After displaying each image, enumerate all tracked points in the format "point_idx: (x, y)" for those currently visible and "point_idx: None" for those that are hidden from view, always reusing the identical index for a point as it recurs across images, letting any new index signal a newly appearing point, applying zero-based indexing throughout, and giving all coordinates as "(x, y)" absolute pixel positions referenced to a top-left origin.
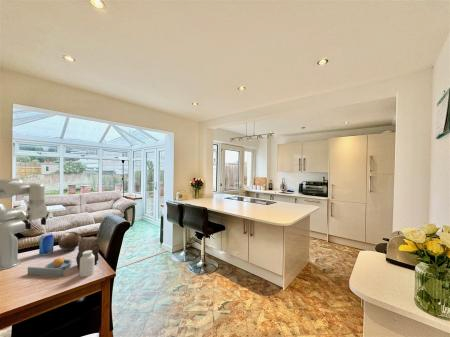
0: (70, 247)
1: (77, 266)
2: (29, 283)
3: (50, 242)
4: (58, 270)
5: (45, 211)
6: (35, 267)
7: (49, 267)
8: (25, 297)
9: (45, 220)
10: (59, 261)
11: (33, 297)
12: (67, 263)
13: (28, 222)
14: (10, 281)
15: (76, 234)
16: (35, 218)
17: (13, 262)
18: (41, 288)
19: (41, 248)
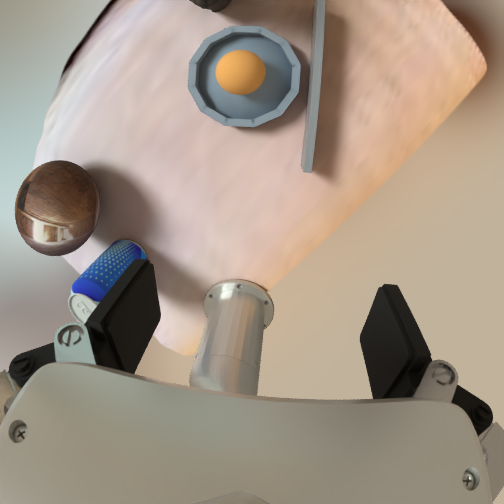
0: (85, 171)
1: (228, 3)
2: (376, 96)
3: (103, 265)
4: (324, 11)
5: (7, 500)
6: (309, 135)
7: (256, 109)
8: (445, 50)
9: (108, 303)
10: (253, 54)
11: (443, 27)
12: (212, 57)
13: (451, 375)
14: (359, 185)
15: (24, 190)
16: (406, 416)
17: (238, 295)
18: (402, 30)
19: None
